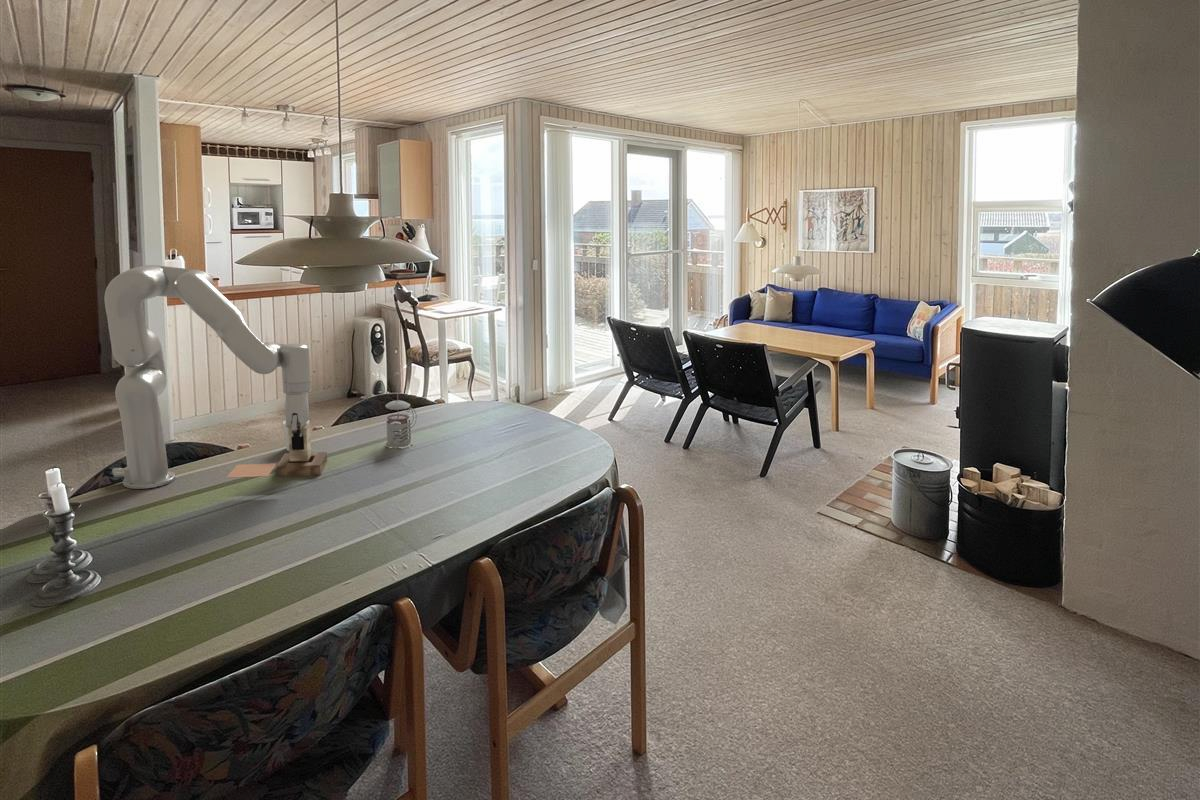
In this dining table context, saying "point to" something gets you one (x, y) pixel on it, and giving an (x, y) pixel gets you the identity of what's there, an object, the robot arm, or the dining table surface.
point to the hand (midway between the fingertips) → (300, 445)
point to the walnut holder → (302, 465)
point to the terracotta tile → (251, 470)
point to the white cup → (288, 434)
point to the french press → (395, 438)
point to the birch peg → (306, 452)
